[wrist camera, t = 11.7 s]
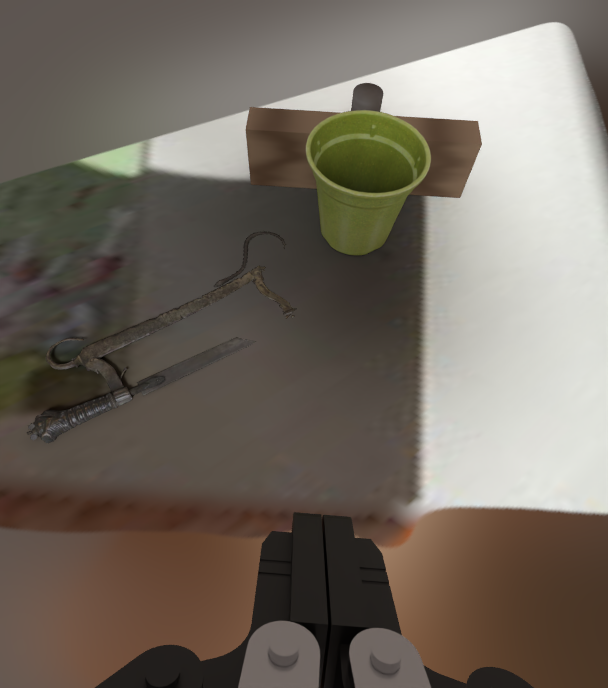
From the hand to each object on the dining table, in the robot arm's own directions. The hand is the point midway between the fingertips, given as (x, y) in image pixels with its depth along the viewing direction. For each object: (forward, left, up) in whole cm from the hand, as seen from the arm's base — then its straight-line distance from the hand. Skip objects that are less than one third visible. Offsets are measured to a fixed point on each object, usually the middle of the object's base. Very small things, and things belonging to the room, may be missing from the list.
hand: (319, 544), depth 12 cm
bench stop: (+3, +35, -19) cm, 40 cm away
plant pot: (+3, +29, -19) cm, 35 cm away
